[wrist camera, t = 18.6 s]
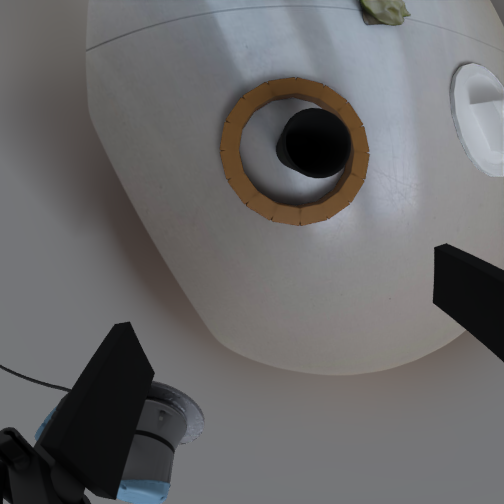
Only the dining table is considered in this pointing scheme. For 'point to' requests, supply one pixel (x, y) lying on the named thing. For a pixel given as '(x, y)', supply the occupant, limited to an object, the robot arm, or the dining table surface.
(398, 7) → the fruit
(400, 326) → the dining table surface
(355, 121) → the orange-brown segmented ring
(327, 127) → the cup
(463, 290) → the robot arm
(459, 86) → the dish
